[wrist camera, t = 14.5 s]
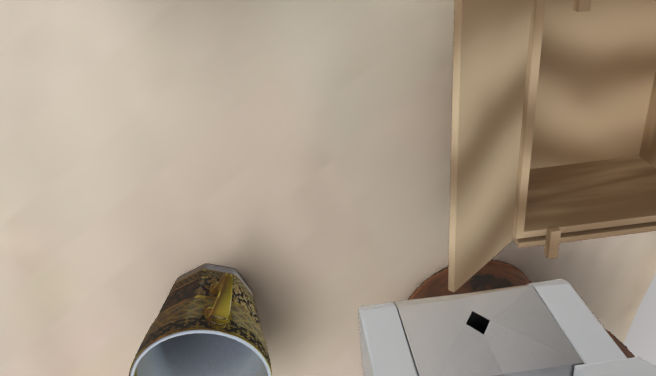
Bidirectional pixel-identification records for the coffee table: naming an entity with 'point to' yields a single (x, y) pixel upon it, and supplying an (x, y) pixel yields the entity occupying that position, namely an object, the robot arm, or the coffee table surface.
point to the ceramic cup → (205, 329)
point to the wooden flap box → (587, 123)
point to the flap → (485, 129)
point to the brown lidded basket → (484, 286)
